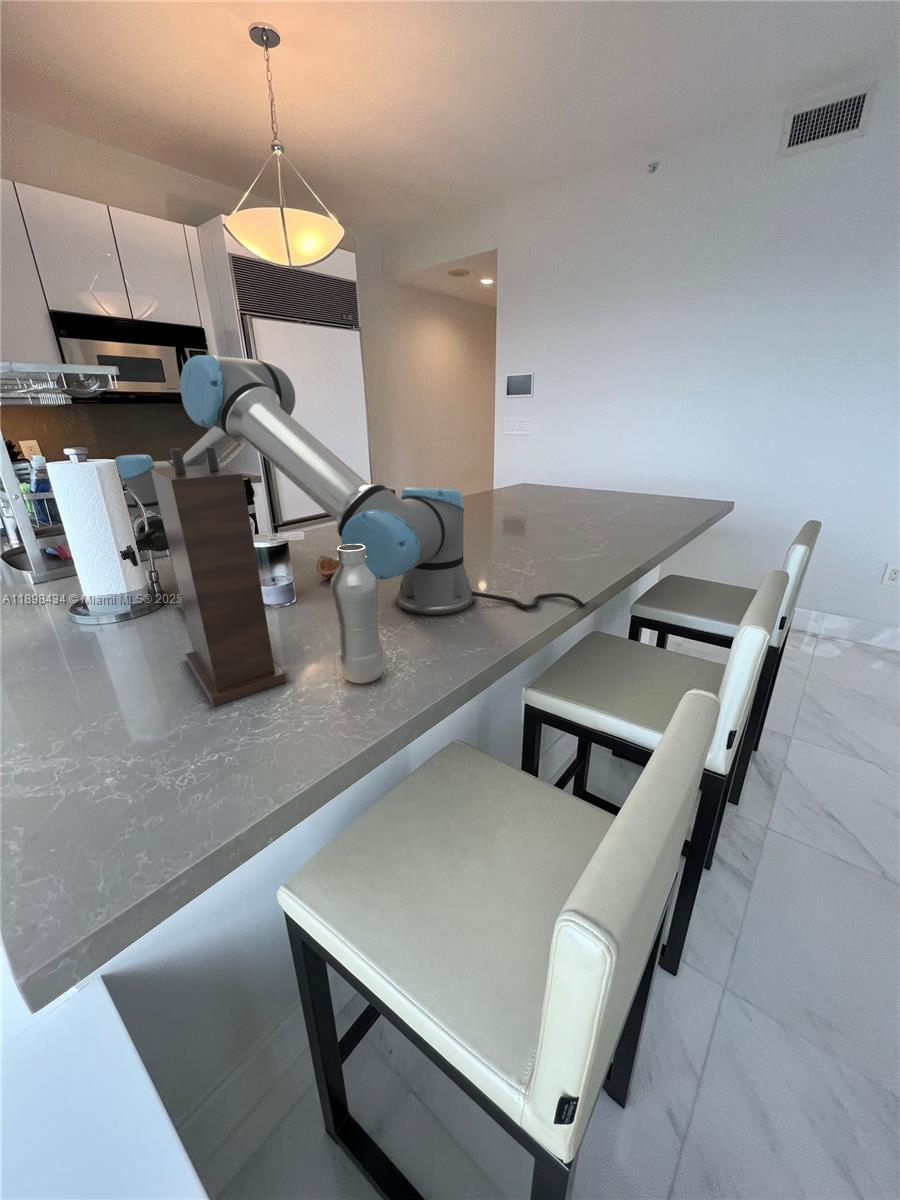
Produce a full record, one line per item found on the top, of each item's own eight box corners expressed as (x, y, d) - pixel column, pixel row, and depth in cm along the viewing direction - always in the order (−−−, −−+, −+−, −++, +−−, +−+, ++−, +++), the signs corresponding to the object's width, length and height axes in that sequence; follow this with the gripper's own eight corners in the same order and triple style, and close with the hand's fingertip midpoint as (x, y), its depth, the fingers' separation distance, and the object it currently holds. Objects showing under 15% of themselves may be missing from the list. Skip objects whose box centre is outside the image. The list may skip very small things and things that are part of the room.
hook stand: (286, 682, 72) (249, 448, 60) (214, 707, 66) (156, 453, 54) (251, 644, 83) (214, 442, 71) (187, 662, 78) (135, 446, 66)
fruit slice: (357, 578, 115) (356, 557, 113) (336, 586, 110) (334, 565, 108) (333, 572, 119) (331, 552, 118) (311, 579, 114) (309, 559, 112)
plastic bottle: (377, 691, 69) (366, 555, 62) (333, 686, 71) (317, 553, 63) (391, 668, 75) (383, 542, 68) (350, 664, 76) (337, 540, 69)
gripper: (82, 523, 100) (90, 544, 84) (212, 507, 114) (239, 522, 99) (92, 558, 103) (102, 585, 87) (218, 538, 117) (246, 558, 101)
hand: (175, 552), depth 93 cm, fingers open, 13 cm apart
